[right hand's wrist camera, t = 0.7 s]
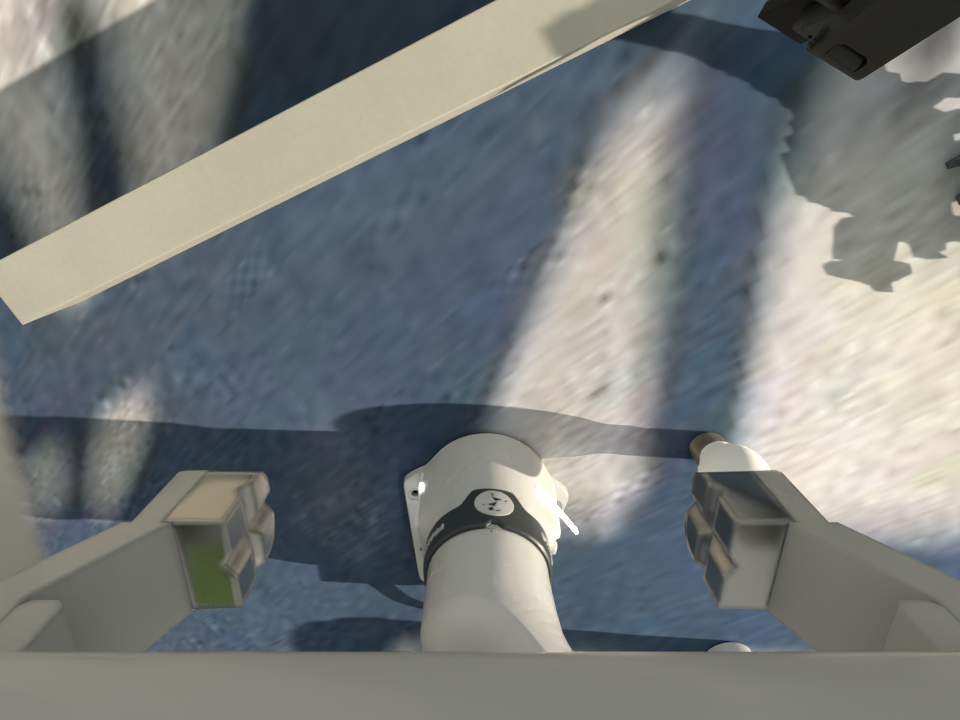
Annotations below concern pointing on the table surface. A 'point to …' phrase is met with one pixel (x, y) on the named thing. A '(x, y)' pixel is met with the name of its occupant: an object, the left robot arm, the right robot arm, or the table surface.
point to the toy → (953, 163)
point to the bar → (312, 144)
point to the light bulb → (724, 455)
